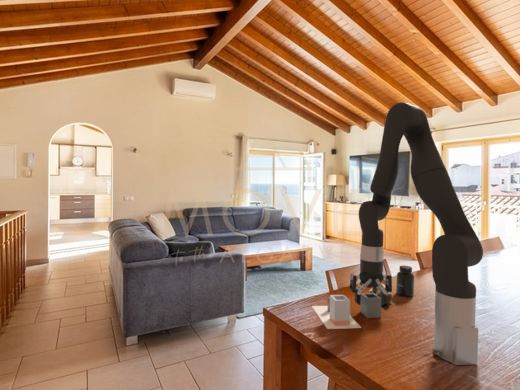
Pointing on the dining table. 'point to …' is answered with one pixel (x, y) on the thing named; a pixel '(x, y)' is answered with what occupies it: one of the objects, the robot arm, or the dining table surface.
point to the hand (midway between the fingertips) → (370, 304)
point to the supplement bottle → (405, 282)
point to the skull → (388, 296)
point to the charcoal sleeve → (370, 305)
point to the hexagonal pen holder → (339, 310)
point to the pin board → (325, 317)
